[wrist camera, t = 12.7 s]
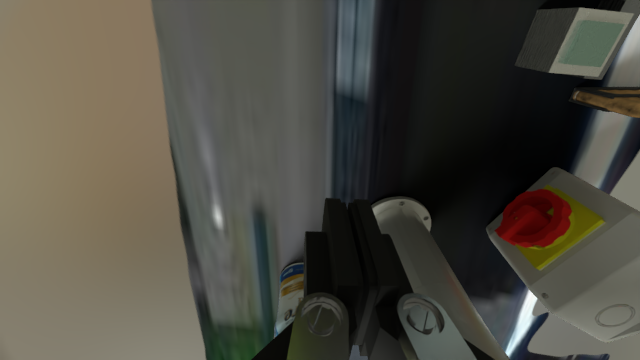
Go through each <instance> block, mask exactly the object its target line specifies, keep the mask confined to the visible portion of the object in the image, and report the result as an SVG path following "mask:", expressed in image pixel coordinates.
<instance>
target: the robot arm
mask: <svg viewBox="0 0 640 360" xmlns="http://www.w3.org/2000/svg"><path fill="white" fill-rule="evenodd" d="M430 228H431V217H430V214H429V212H428V211H427V209H426V208H425V206H424V205H423V204H421V203H420V202H419V201H417V200H415V199H413V198H409V197H402V196H397V197H390V198H385V199H383V200H380V201H378V202H376V203H374V204H373V205H371V204H370V201H369V200H359V199H354V201H353V203H349V204H348V209H347V207H346V204H345V203H342V202H341V200H340V199H334V198H326V199H325V206H324V215H323V224H322V232H305V243H304V298H303V299H302V300H301V302H300V303H299V304H298V307H297V309H296V313H295V318H294V321H293V322H291V323H290V324H289V325H288V326H287V327H286V328H285V329H284V330H283V331H282V332H281V333H280V334H278V335H277V336H276V337H275V338H274V339H273V340H272V341H271V342H270V343H269V344H268V345H267V346H266V347H264V348H263V349H262V350H261V351H260V352H259V353H258V354H257V355H256V356H255V357H254V358H253V359H251V360H349V357H350V354H351V350H352V346H353V344H354V345H359V351H360V356H368V360H510V359H509V357H508V356H507V355H506V353H505V352H504V351H503V349H502V348H501V347H500V345H499V344H498V342H497V341H496V340H495V338H494V337H493V335H492V334H491V332H490V331H489V329H488V328H487V326H486V325H485V323H484V322H483V320H482V319H481V317H480V315H479V314H478V312H477V311H476V309H475V307H474V306H473V304H472V302H471V301H470V299H469V298H468V296H467V294H466V292H465V291H464V289H463V287H462V286H461V284H460V283H459V281H458V279H457V278H456V276H455V274H454V273H453V271H452V269H451V268H450V266H449V264H448V263H447V261H446V259H445V258H444V256H443V254H442V253H441V251H440V249H439V248H438V246H437V244H436V243H435V241H434V239H433V238H432V236H431V234H430V233H429V232H430Z"/></svg>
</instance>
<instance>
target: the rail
mask: <svg viewBox="0 0 640 360" xmlns="http://www.w3.org/2000/svg"><path fill="white" fill-rule="evenodd" d="M639 14H640V0H600V2H599V4H598V6H597V7H596V9H589V8H561V9H543V10H537V12H536V15H535V17H534V19H533V22H532V24H531V27H530V29H529V32H528V34H527V36H526V39H525V41H524V44H523V46H522V48H521V51H520V53H519V56H518V58H517V61H516V63H515V65H514V66H519V67H524V68H529V69H534V70H538V71H543V72H548V73H559V74H565V75H570V76H575V77H580V78H586V79H598V80H602V78H603V76H604V75H605V73H606V71H607V70H608V68H609V66H610V64H611V63H612V61H613V59H614V57H615V56H616V54H617V52H618V51H619V49H620V47H621V45H622V44H623V42H624V40H625V38H626V37H627V35H628V33H629V32H630V30H631V28H632V26H633V25H634V23H635V21H636V19H637V18H638V16H639Z"/></svg>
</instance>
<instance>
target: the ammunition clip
mask: <svg viewBox="0 0 640 360" xmlns="http://www.w3.org/2000/svg"><path fill="white" fill-rule="evenodd" d="M569 102H573V103H577V104H580V105H584V106H587V107H591V108H594V109H598V110H601V111H605V112H616V113H620V114H623V115H627V116H630V117H637V118H640V87H575V88H574V90H573V92H572V94H571V97H570V99H569Z"/></svg>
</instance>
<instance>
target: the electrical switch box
mask: <svg viewBox="0 0 640 360" xmlns="http://www.w3.org/2000/svg"><path fill="white" fill-rule="evenodd" d="M486 231H487V233H488V235H489V237H490V239H491V241H492V242H493V243H494V245H495V246H496V247H497V248H498V250H499V251H500V252H501V254H502V255H503V256H504V257H505V259H506V260H507V261H508V263H509V264H510V265H511V266H512V268H513V269H514V270H515V272H516V273H517V274H518V276H519V277H520V278H521V279H522V281H523V282H524V283H525V285H526V286H527V287H528V288H529V290H530V291H531V292H532V293H533V294H534V295H535V296H536V297H537V298H538V299H539V300H540V301H541V302H542V304H543V305H544V306H545V307H546V308H547V309H548V310H549V311H550V312H551V313H552V314H554V315H556V316H558V317H559V318H561V319H563V320H564V321H566V322H568V323H570V324H572V325H574V326H575V327H577V328H579V329H581V330H583V331H584V332H586V333H588V334H590V335H592V336H593V337H595V338H597V339H599V340H600V341H602V342H607V343H608V342H612V341H615V340H618V339H622V338H625V337H628V336H632V335H635V334H639V333H640V212H639V211H638V210H636V209H634V208H632V207H630V206H629V205H627V204H625V203H623V202H621V201H619V200H617V199H616V198H614V197H612V196H610V195H609V194H607V193H605V192H603V191H601V190H599V189H598V188H596V187H594V186H592V185H590V184H588V183H587V182H585V181H583V180H581V179H579V178H578V177H576V176H574V175H572V174H570V173H568V172H566V171H564V170H562V169H560V168H557V167H553V168H551V169H550V170H549V171H548V172H547V173H545V174H544V175H543V176H542V177H541V178H540V179H539V180H538V181H537V182H536V183H534V184H533V185H532V186H531V187H530V188H529V189H528V190H527V191H526V192H524V193H522V194H520V195H518V196H517V197H516V198H515V200H514V201H513V202H511V203H510V204H508V205H507V206H506V208H505V209H504V211H503V212H502V213H501V214H500V215H499V216H498V217H497V218H496V219H495V220H494V221H492V222H491V223H490V224H489V225H488V226H487V227H486Z"/></svg>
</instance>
